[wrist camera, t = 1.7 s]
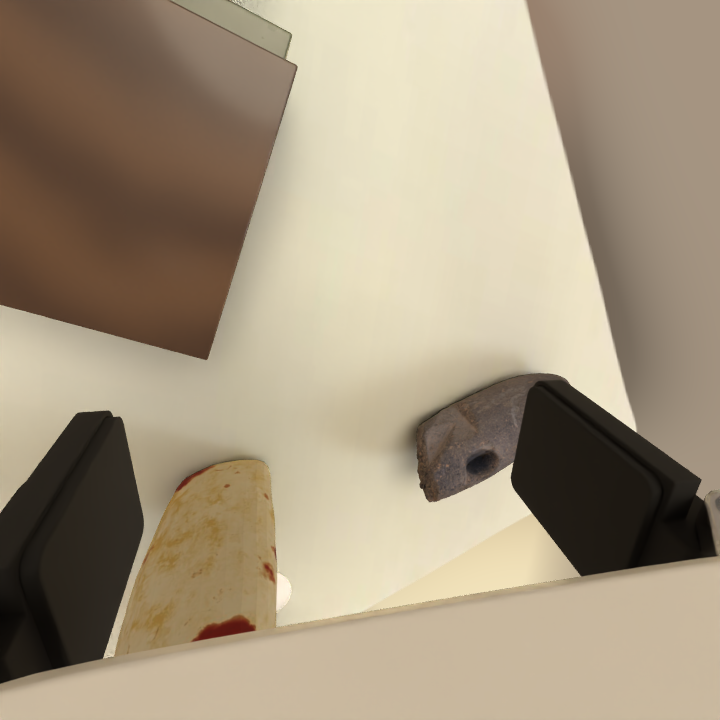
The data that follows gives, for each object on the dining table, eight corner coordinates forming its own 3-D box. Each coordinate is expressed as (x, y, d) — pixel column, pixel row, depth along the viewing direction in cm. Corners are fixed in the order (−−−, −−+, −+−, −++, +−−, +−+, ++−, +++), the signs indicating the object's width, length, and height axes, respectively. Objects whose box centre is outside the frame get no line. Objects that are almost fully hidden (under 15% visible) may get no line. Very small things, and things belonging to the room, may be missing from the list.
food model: (251, 428, 36) (242, 689, 18) (289, 485, 39) (314, 756, 21) (142, 482, 36) (26, 796, 18) (188, 534, 39) (128, 849, 21)
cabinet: (23, -34, 23) (-107, -143, 15) (286, 94, 28) (298, 65, 19) (-12, 238, 27) (-127, 271, 19) (220, 310, 32) (207, 360, 24)
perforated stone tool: (541, 345, 39) (596, 380, 32) (554, 391, 41) (607, 432, 35) (387, 424, 39) (412, 474, 32) (409, 466, 41) (436, 520, 35)
